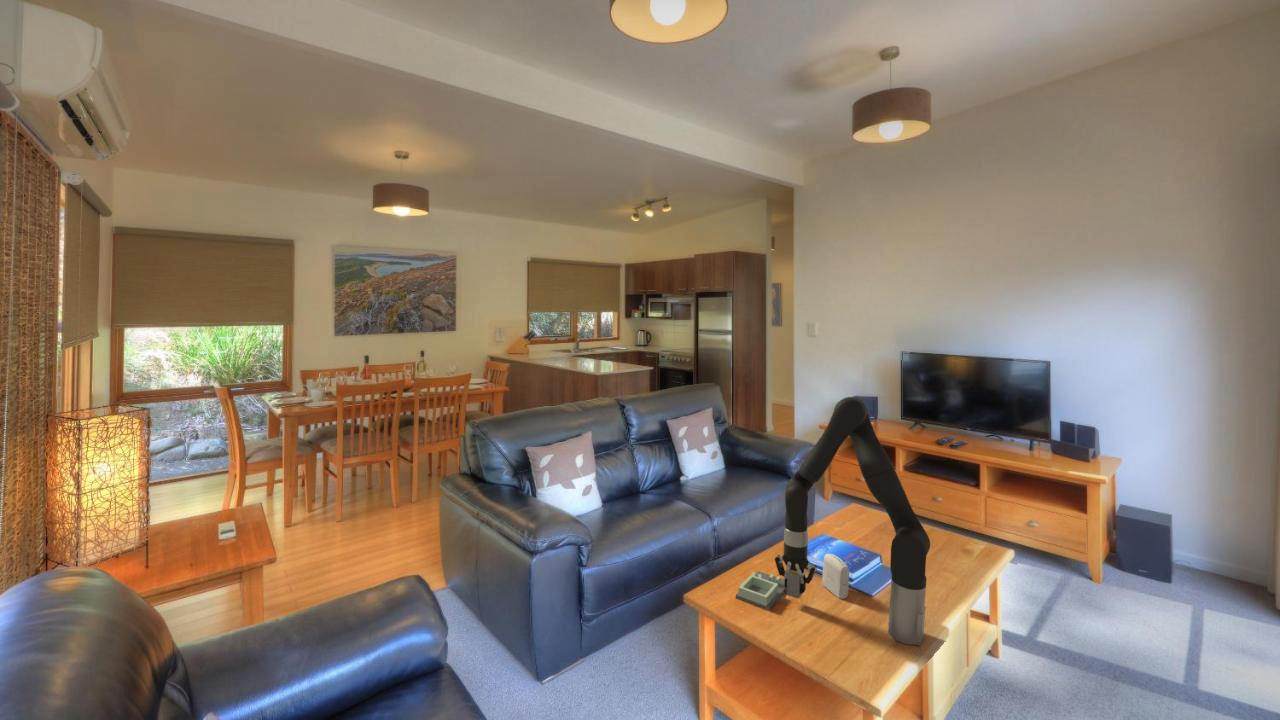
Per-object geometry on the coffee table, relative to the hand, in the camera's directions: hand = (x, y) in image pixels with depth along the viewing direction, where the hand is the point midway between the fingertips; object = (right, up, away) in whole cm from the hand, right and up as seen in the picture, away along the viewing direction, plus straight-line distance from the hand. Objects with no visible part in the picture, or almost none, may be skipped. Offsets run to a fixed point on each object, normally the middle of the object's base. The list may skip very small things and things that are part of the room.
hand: (794, 590), depth 170 cm
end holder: (-11, -3, +5) cm, 12 cm away
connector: (0, -1, 0) cm, 1 cm away
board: (-8, -4, +8) cm, 13 cm away
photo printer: (+17, -4, +9) cm, 19 cm away
